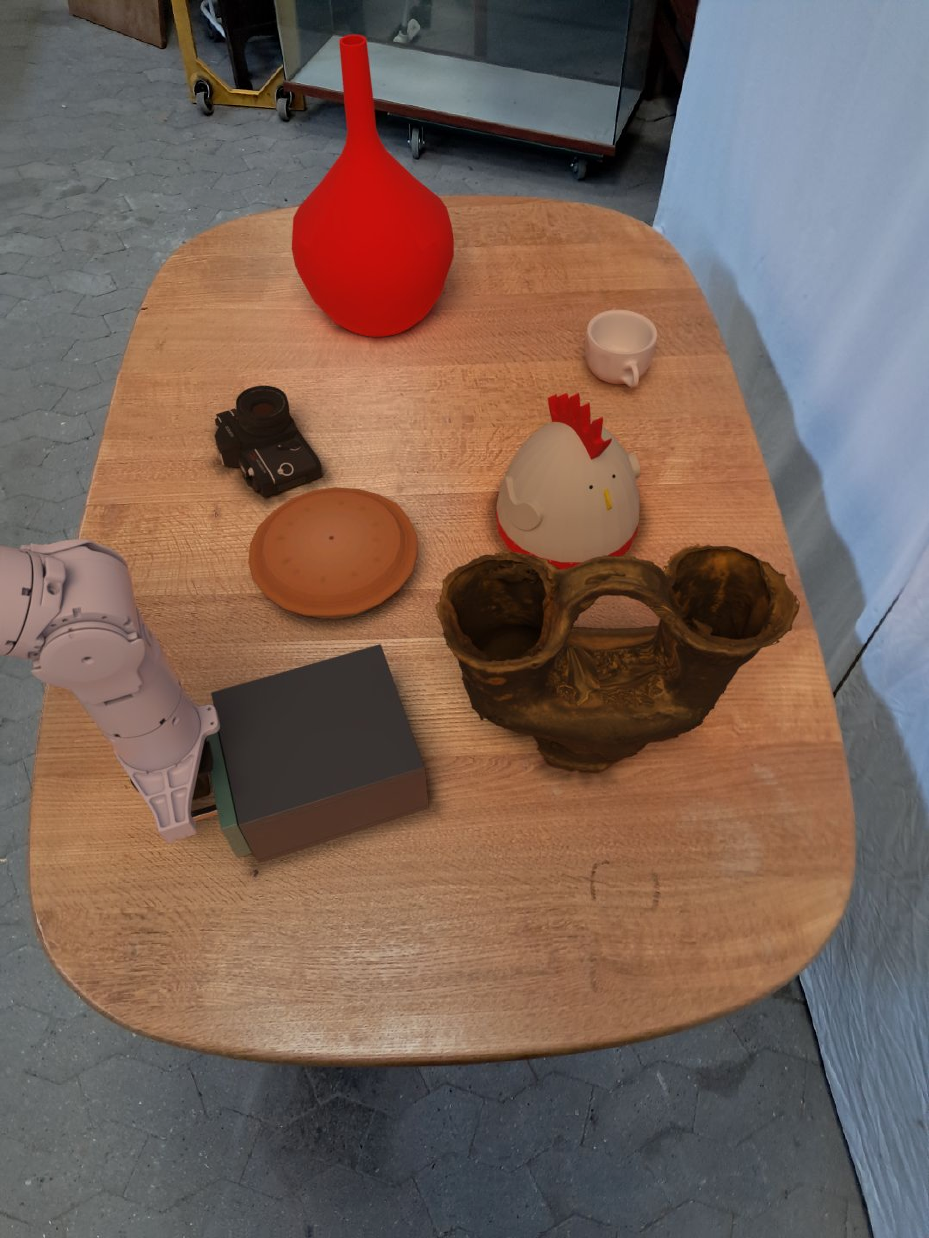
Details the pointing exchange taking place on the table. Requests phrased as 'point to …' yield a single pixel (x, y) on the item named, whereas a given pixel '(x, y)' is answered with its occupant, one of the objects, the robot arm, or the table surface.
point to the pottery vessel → (608, 645)
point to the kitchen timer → (570, 490)
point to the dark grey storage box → (319, 753)
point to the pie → (333, 552)
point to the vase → (371, 225)
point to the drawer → (223, 801)
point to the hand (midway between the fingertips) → (196, 790)
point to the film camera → (265, 442)
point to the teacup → (620, 346)
